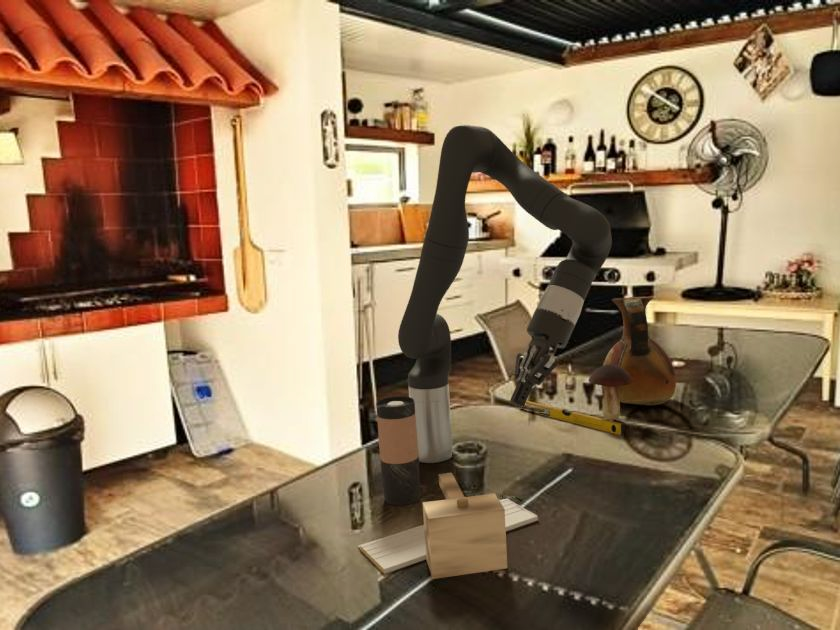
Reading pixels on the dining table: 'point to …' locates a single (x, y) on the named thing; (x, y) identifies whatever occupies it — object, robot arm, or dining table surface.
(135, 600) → the dining table surface
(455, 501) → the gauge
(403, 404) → the travel mug
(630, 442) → the dining table surface
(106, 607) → the dining table surface
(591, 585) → the dining table surface
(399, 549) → the baseboard
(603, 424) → the spirit level
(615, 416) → the decorative mushroom
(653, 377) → the ceramic pitcher
